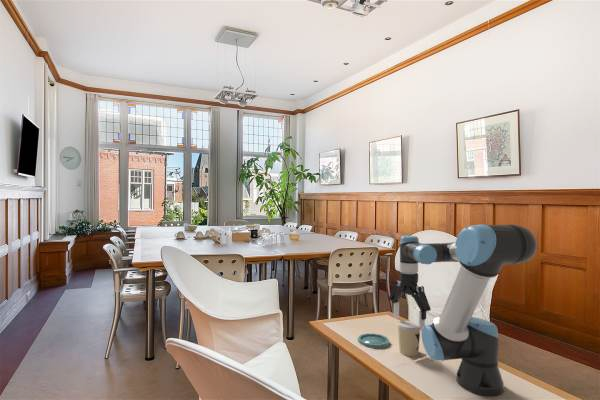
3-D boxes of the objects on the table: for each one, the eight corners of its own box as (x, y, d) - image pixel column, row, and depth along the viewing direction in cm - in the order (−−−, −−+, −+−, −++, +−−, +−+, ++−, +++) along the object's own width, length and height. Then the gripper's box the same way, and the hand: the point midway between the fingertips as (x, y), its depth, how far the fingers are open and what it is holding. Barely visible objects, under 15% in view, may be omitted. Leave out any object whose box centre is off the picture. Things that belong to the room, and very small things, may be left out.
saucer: (395, 344, 163) (395, 340, 163) (373, 351, 155) (373, 347, 155) (373, 334, 174) (373, 331, 174) (351, 340, 167) (351, 337, 167)
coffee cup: (421, 357, 148) (421, 328, 148) (398, 355, 150) (398, 327, 150) (419, 348, 158) (419, 321, 158) (396, 347, 159) (396, 319, 160)
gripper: (440, 276, 146) (439, 329, 146) (392, 266, 167) (392, 312, 167) (428, 278, 142) (427, 333, 142) (381, 268, 163) (380, 315, 163)
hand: (408, 322), depth 154 cm, fingers open, 13 cm apart
